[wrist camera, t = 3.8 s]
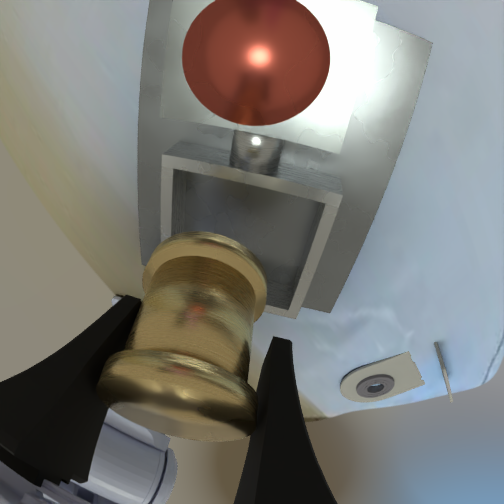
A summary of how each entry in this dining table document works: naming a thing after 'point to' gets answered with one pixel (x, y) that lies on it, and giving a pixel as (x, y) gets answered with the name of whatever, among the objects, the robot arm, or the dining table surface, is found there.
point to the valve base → (273, 132)
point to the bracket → (386, 378)
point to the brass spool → (191, 341)
